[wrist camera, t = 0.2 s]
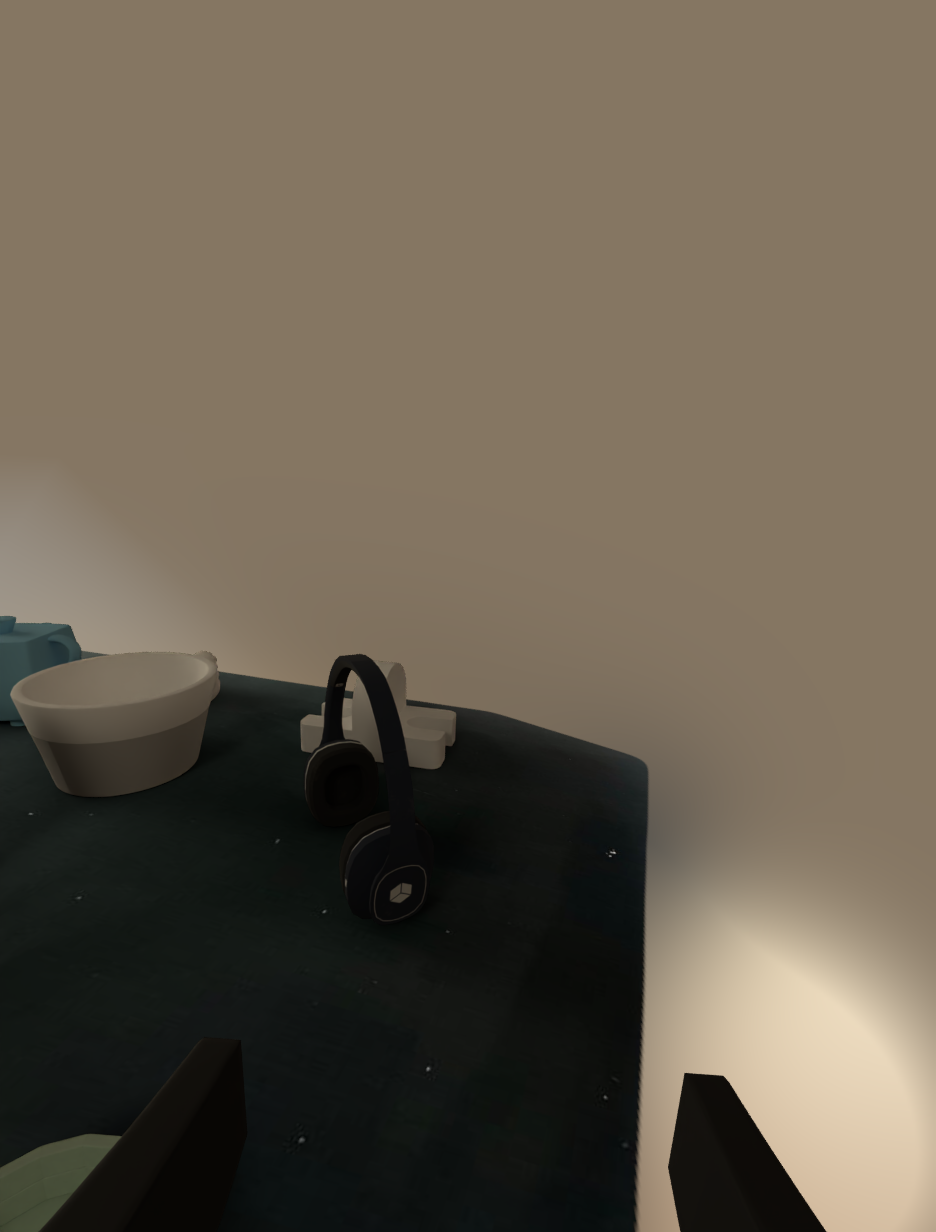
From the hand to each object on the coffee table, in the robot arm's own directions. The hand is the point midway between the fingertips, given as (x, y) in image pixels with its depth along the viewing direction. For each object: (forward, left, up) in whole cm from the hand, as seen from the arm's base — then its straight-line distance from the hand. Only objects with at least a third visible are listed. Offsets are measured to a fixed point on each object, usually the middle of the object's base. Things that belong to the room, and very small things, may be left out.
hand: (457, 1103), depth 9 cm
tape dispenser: (+59, +13, -22) cm, 64 cm away
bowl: (+50, +40, -22) cm, 67 cm away
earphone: (+36, +10, -22) cm, 43 cm away
